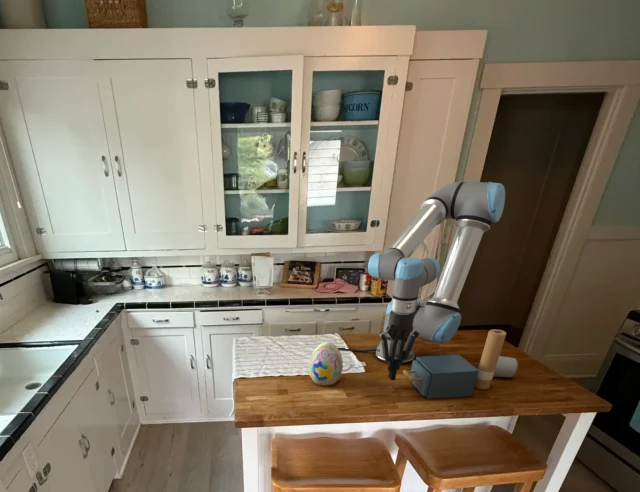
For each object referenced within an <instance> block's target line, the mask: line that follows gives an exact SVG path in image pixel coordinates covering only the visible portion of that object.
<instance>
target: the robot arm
mask: <svg viewBox="0 0 640 492" xmlns="http://www.w3.org/2000/svg"><path fill="white" fill-rule="evenodd" d="M505 202H506V189H505V186H504V185H503V184H502V183H499V182H492V181H488V182H485V181H484V182H483V181H455V182H452V183H449V184H446V185H444V186H442V187H441V188H439V189H437V190H435V191H434V192H433V193H431V194H430V195H429V196H428V197H427V198H426V199H425V200H424V201H423V203H422V204H421V205H420V208H419V211H418V213H417V214H416V215H415V217H414V218H413V219H412V220H411V221H410V222H409V223H408V224H407V226H406V227H405V228H404V229H403V231H402V232H401V233H400V234H399V235H398V236H397V237H396V239H395V240H394V241H393V242H392V244H390V246H389V247H388V248H387V249H386V250H385V251H384V253H382V252H380V253H374V254H372V255H371V256H370V258H369V261H368V263H367V272H368V274H369V276H371V277H373V278H376V279H379V280H388V281H393V282H394V284H393V292H392V297H391V301H389V303H387V306H386V311H385V318H384V325H383V331H380V332H379V333H378V336H379V338H380V341H379V344H378V346H377V347H375V348H366V349H360V348H359V349H358V348H351V347H348V348H349V349H345V348H346V347H342V348H338V350H339V351H351V352H356V353H367V352H375V358H376V359H377V360H379V361H380V362H384V363H387V367H386V368H387V370H388V375H387V377H388V379H390V381H396V377H397V371H399V370H400V369H401V365H406V364H410V363H413V360H415V354H416V353H415V347H414V346H415V345H414V344H415V341H416V339H420V340H424V341H426V340H427V341H426V342H431V343H437V344H446V343H449V341H451V339H453V337H454V336H455V334H456V333H457V331H458V329H459V327H460V325H461V321H462V314H461V313H460V312H459V311H460V307H459V305H458V301H459V298H460V295H461V294H462V293H461V292H462V290H463V288H464V285H465V282H466V279H467V277H468V274H469V272H470V270H471V267H472V264H473V262H474V258H475V256H476V253H477V251H478V248H479V245H480V242H481V240H482V237H483V234H484V233H485V232H487V231H489V230H490V229H491V226H492V225H493V224H495V223H497V222H499V221H500V219H501V218H502V216H503V211H504V208H505ZM445 220H455V221H454V225H455V227H456V231H455V234H454V237H453V240H452V242H451V245H450V248H449V250H448V254H447V256H446V258H445V262H444V265H443V267H442V270H441V264H440V263H439V261H438V260H437V259H435V258H434V257H424V258H423V259H421V258H418V257H411V256H412V255H413V253H414V252H416V250H417V249H418V248H419V247H420V245H421V244H422V243H423V242H424V241H425V240H426V238H427V237H428V236H429V234H430V233H431V232H432V231H433V230H434V228H435V227H436V226H438V225H440V224H442V223H443V222H444V221H445ZM440 273H441V274H440ZM438 277H439V279H438ZM437 279H438V282H437V285H436V288H435V290H434V292H433V296H432V297H431V298H429V299H428V300H426V303H425V305H421V301H420V300H419V293H420V290H421V289H420V288H422V287H424V286H426V285H429V284H431V283H433V281H435V280H437Z"/></svg>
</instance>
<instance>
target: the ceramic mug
mask: <svg viewBox="0 0 640 492" xmlns="http://www.w3.org/2000/svg"><path fill="white" fill-rule="evenodd" d="M518 369H519V361H518V359H517V358H515V357H514V358H513V357H510V356H502V355H499V358H498V362H497V365H496V368H495V372H494V375H493V378H494V377H495V378H512V377H513V378H514V377H515V376H516V374H517V371H518Z"/></svg>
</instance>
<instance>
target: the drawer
mask: <svg viewBox="0 0 640 492" xmlns="http://www.w3.org/2000/svg"><path fill="white" fill-rule="evenodd" d="M411 363H412V364H411V370H407V369H403V370H402V374H403V376H405V378H406V379H407V380H408V381H409V382H410V383H411V384H412V385H413V386H414V387H415V388H416V390H417V391H418V392H419V393H420V394H421V395H422V396H423V397H425V396H427V392H428V389H429V385H430V381H431V376H432V374H431V373H430V372H429V371H428V370H427V369H426V368H425V367H424V366H423V365H422V364H421V363H419V362H418V361H417V360H416V359H414V360H413V361H412V362H411Z"/></svg>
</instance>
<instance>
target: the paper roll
mask: <svg viewBox="0 0 640 492" xmlns="http://www.w3.org/2000/svg"><path fill="white" fill-rule="evenodd" d="M506 336H507V332H506V331H505V330H502V329H497V328H496V329H495V328H494V329H490V330H488V333H487V337H486V340H485V342H484V343H485V344H484V346H483V351H482V353H481V357H480V361H479V364H478V366H477V370H478V371H479V372H478V376H477V379H476V382H475V386H474V388H476V389H480V390H488V389H490V387H491V383H492V380H493V378H494V376H493V375H494V372H495V368H496V365H497V362H498V358H499V356H501V352H502V349H503V347H504V342H505V340H506Z"/></svg>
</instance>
